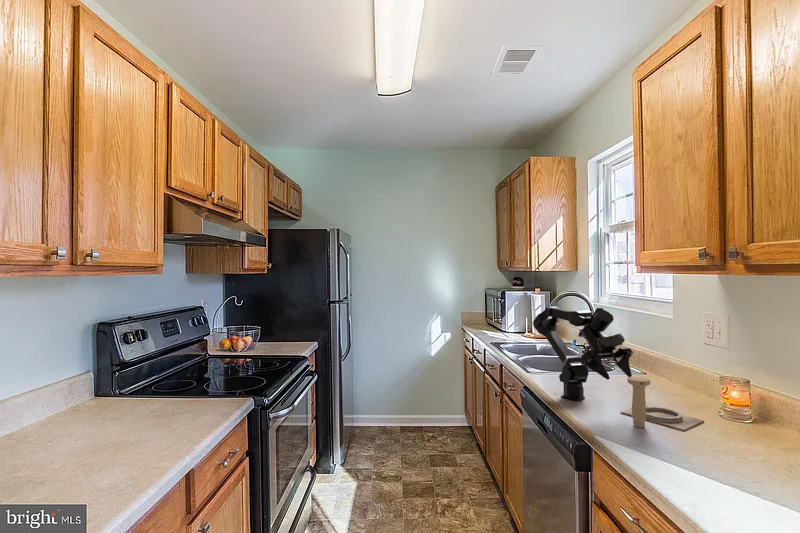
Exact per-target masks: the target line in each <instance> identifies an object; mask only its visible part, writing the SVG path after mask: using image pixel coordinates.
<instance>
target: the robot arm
mask: <svg viewBox="0 0 800 533" xmlns="http://www.w3.org/2000/svg"><path fill="white" fill-rule="evenodd" d="M559 319H560V320H562V321H563V320H564V321H567V322H569V324H570V325H572V326H574V327H582V328H581V329H579V332H578V337H579V338H584V339H585V341H586V342H587V344H588V346H587V349H588V350H585V351H584V353H583V354H581V356H574V355H573V354H572V352H571V350H570V349H569V347H568V345H567V344H566V343H565V342H564V340H563V339H562V337H561V336H560V334H559V333H558V331H557V323H558V322H559V321H558V320H559ZM612 322H614V315H613V314H612V313H610V312H609V311H607V310H605V309H603V307H596V309H595V310H594V312H592V311H590V310H571V309H566V308H562V307H559V306H547V307H546V308H545V309H544V310H543V311H542V312H540V313H539V314H537V315H536V317H535V318H534V319H533V321H532V325H533V328H534V329H535V330H536V332H537V333H538V334H540V335H542V336H543V337H545V339H546V340H547V341H548V344H550V346H551V348H552V349H553V350H554V352H555V354H556V355H557V357H558V359H559V360H560V362H561V363H562V364H561V365H562V366H561V370H562V372H561V373H560V374H559V376H558V378H559V381H560V382H561V383H563V394H562V395H560V397H561V398H564V399H567V400H570V401H573V402H577V401H581V400H584V399H586V396H584V395H585V394H584V386H583V383H587V381H588V377H589V369H590V370H592V371H593V372H595V373H597V374H598V375H599V376H601V377H602V378H603V379H605V380H607V381H608V380H610V375H609V373H608V372H607V370H606V368H605V366H604V365H603V363H602V360H609V359H613V361H614V362H615V363H616V364H615V365H616V366H617V367H618V368H619V369H620V370H621V371H622V373H624V374H625V375H626V376H627V378H628V377H633V376H632V371H631V367H630V359H631V357H632V356H633V354H634V352H633V350H632V349H631V348H630V347H620V348H618V349H617V346H622V345H623V343H625V338H624V336H623V335H622V334H621V333H616V334H614V335H608V336H604V335H603V334H602V333H603V332H605V331H606V330H607V329H608V328H609V326H610V325H611V324H612ZM616 349H617V350H616ZM615 350H616V351H615Z"/></svg>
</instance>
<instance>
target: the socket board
mask: <svg viewBox="0 0 800 533" xmlns="http://www.w3.org/2000/svg"><path fill="white" fill-rule="evenodd" d="M620 414H622V415H625V416H628V417H632V407H631V408H628V409H624V410H621V411H620ZM646 421H647V422H649V421H650V423H653V422H654V424H656V423H657V425H660V426H663V425H664V427H667V428H670V429H674V430H678V431H682V432H685V431H687V430H690V429H692V428H694V427H696V426H697V427H698V426H699V425H701V424H703V423H705V419H704V420H703V419H700V418H696V417H692V416H687V415H684V414H682V413H681V412H680V411H677V410H674V409H671V408H667V407H661V406H649V405H646V420H645V422H646Z"/></svg>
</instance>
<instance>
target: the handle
mask: <svg viewBox="0 0 800 533" xmlns="http://www.w3.org/2000/svg"><path fill="white" fill-rule="evenodd" d="M627 383H628V384H629V385H631V386H632V397H631V398H632V399H631V408H632V416H631V417H632V425H633V426H634V427H636V428H645V426H646V406H647V404H646V403H647V402H646V401H647V400H646V387H647V386H650V385H651V379H650V378H646V377H642V376H641V377H640V376H631V377H628V376H627Z"/></svg>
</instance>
